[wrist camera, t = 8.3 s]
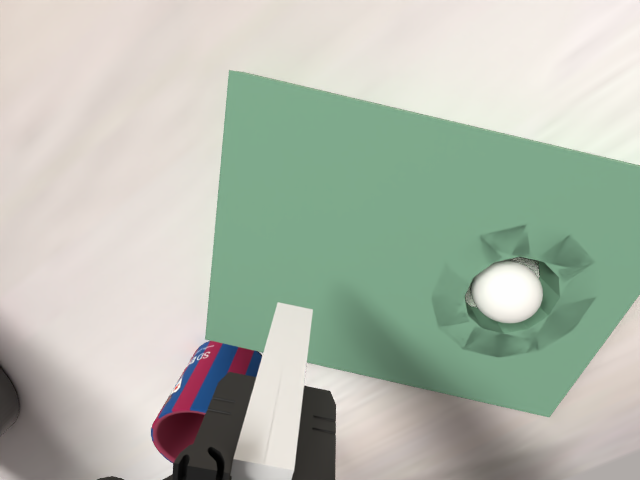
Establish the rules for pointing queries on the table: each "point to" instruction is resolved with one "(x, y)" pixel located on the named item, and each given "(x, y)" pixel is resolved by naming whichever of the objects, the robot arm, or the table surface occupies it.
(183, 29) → the table surface
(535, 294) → the ball
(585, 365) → the green
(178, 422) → the mug
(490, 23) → the table surface
